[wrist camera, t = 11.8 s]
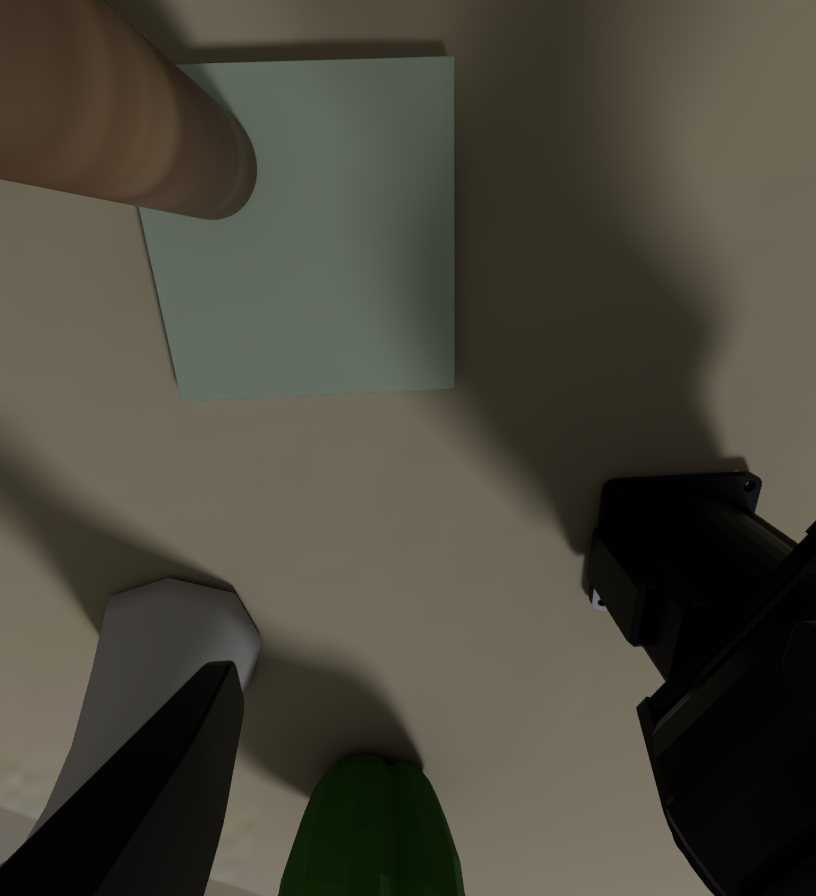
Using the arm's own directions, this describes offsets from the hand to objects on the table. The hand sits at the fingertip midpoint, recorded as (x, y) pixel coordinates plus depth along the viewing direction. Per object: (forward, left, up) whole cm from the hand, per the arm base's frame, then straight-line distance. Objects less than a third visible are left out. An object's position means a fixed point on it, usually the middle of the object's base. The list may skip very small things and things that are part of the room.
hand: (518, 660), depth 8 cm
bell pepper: (+4, +21, -12) cm, 25 cm away
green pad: (+4, -6, -12) cm, 14 cm away
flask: (+12, +10, -12) cm, 20 cm away
